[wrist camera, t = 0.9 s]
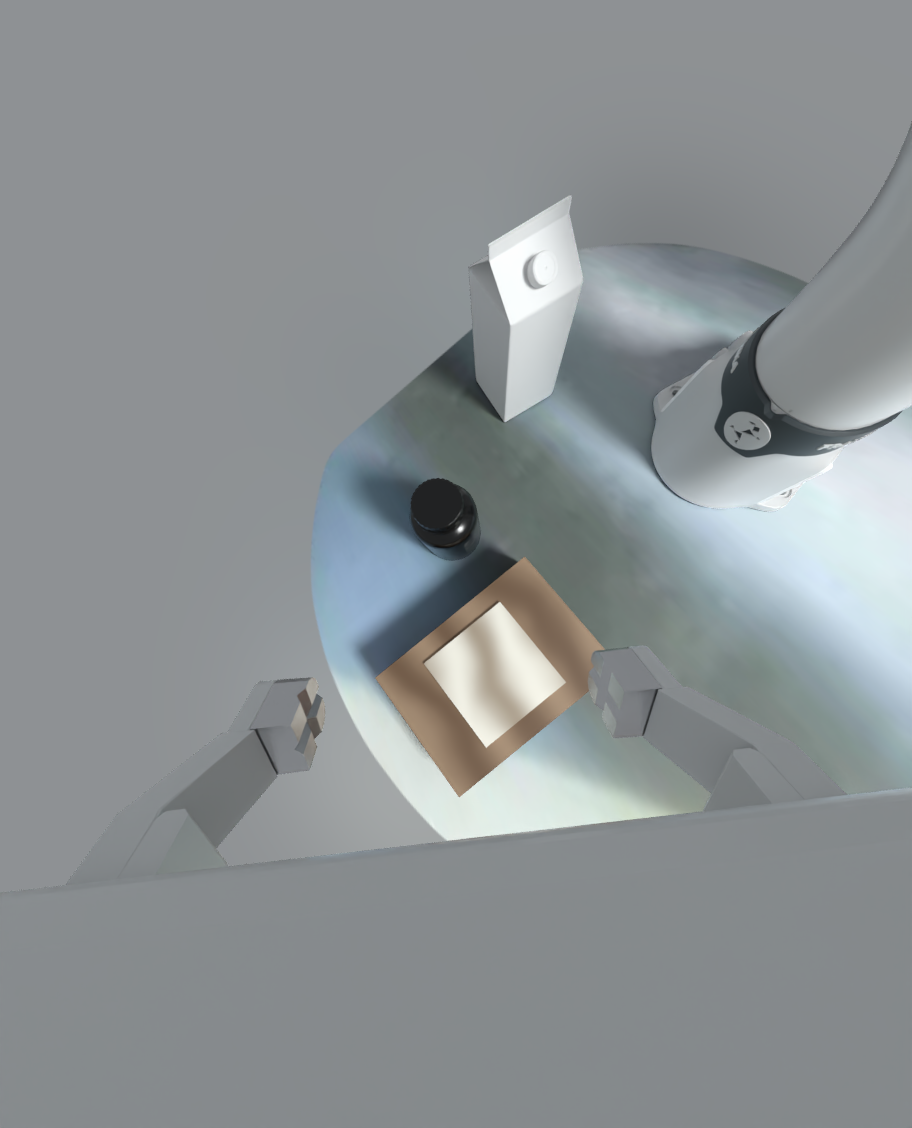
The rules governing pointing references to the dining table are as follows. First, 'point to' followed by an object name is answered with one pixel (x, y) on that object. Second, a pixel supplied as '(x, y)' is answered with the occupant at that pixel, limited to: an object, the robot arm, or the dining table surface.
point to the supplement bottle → (445, 519)
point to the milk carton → (525, 309)
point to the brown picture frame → (492, 675)
